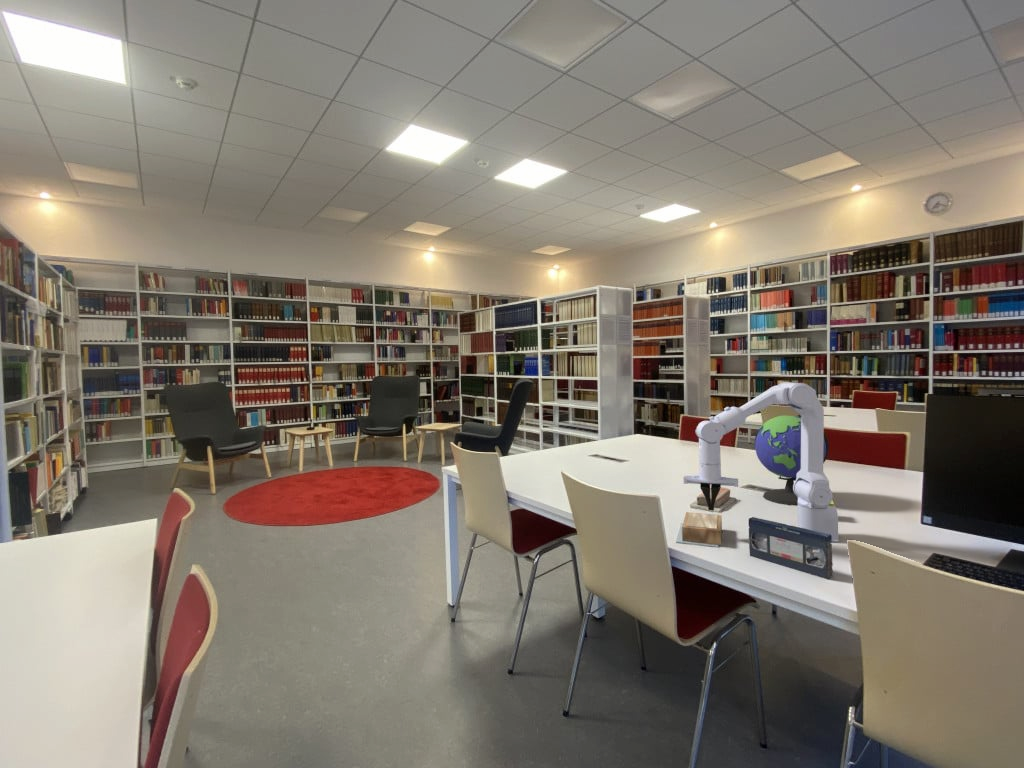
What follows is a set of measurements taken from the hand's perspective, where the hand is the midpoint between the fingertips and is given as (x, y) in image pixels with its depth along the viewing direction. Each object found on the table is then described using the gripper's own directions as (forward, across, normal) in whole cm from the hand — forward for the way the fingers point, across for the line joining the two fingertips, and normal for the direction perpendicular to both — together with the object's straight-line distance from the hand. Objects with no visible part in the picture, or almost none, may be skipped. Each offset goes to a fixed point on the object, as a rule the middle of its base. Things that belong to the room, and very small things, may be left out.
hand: (711, 509), depth 136 cm
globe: (+8, -24, -47) cm, 54 cm away
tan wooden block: (+6, -2, 0) cm, 6 cm away
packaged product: (+9, +1, -33) cm, 34 cm away
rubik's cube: (+8, -31, -27) cm, 42 cm away
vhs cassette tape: (+8, -18, +15) cm, 25 cm away
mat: (+8, +4, 0) cm, 9 cm away
